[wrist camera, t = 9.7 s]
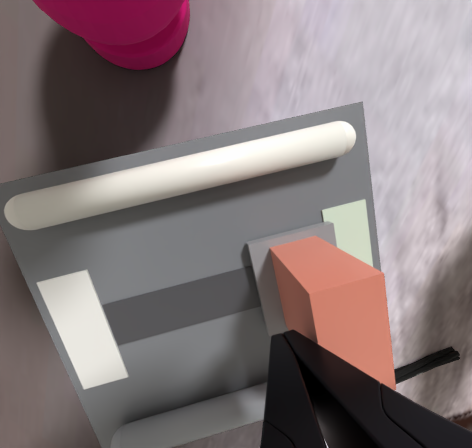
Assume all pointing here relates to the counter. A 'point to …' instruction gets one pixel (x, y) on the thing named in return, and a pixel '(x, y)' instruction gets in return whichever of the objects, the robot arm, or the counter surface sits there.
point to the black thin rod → (426, 364)
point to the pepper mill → (125, 27)
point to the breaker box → (181, 266)
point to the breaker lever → (325, 297)
